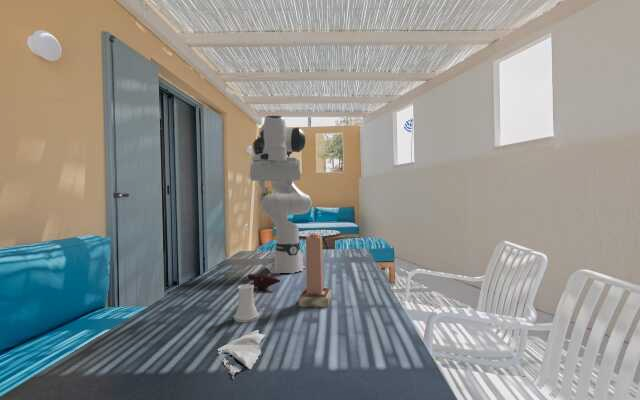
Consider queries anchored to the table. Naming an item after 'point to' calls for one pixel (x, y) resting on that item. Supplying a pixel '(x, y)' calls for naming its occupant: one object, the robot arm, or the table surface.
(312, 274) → the pillar
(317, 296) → the base
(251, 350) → the cloth
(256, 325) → the table surface
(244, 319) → the vase
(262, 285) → the icecream
